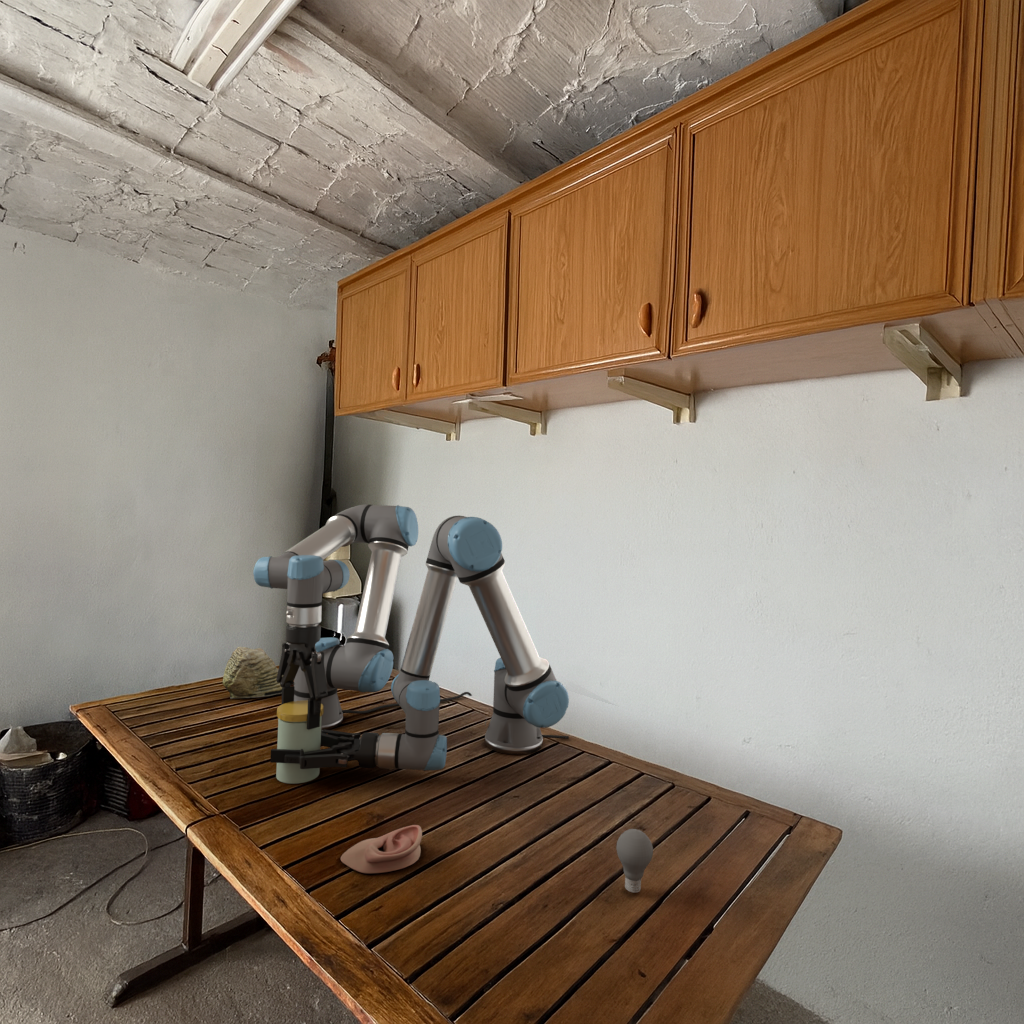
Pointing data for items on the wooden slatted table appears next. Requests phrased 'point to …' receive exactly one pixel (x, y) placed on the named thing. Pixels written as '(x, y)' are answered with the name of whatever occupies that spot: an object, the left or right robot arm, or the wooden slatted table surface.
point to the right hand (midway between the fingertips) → (279, 746)
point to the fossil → (251, 674)
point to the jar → (297, 739)
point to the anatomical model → (385, 851)
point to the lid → (294, 711)
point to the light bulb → (634, 857)
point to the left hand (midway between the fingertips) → (299, 721)
